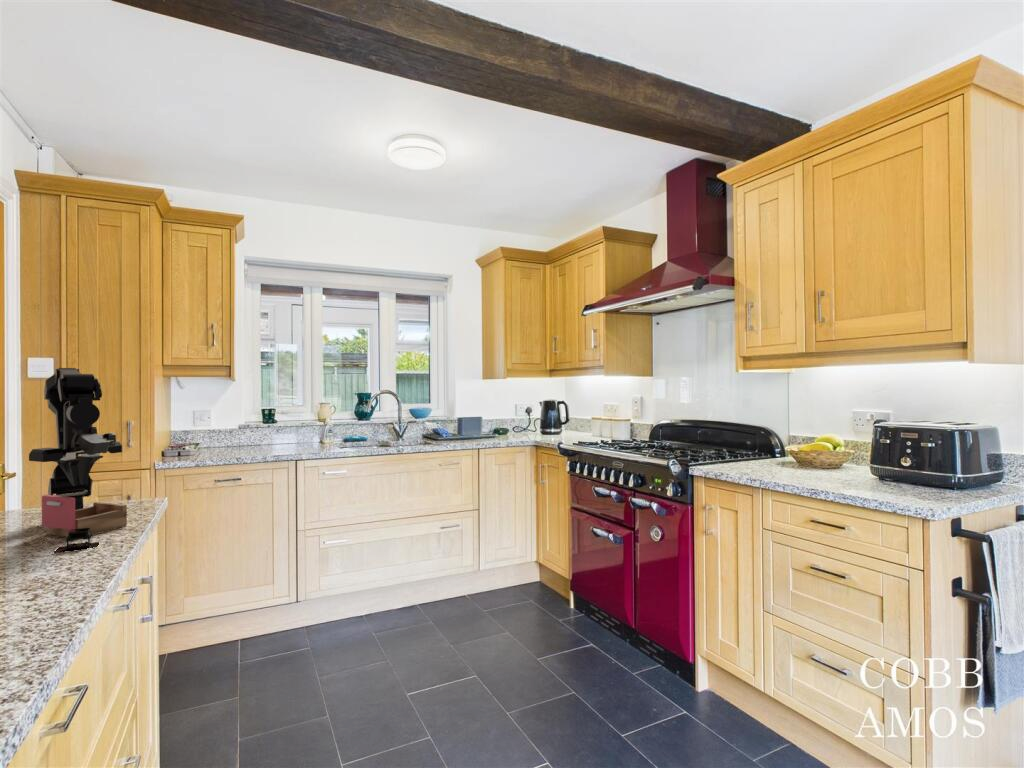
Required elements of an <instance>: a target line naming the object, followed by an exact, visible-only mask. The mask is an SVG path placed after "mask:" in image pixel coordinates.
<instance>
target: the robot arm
mask: <svg viewBox="0 0 1024 768" xmlns="http://www.w3.org/2000/svg"><path fill="white" fill-rule="evenodd" d="M44 382H45V383H44V389H43V390H44V391H43V398H44V400H46V401H47V408H48V409H49V410H50V411H51V412H52V413H53V414H54V416H55V422H56V423H55V425H56V428H55V429H56V438H57V439H56V440H57V441H56V443H57V447H42V448H41V447H40V448H32V449H31V450H30V452H29V453H28V461H29V462H39V463H40V462H41V463H47V462H49V463H50V462H53V463H55V462H56V463H57V465H56V466H55V468H54V470H53V472H52V475H51V477H50V478H49V482H48V489H47V495H55V496H64V497H73V498H75V510H79V509H83V508H85V507H84V498H85V497H90V496H92V489H93V488H92V487H93V479H92V478H91V476H90V475H91V474H90V472H91V471H92V468H93V466H94V464H95V463H96V462H97V461H99V459H103V457H104V455H100V454H107V453H109V454H119V453H122V452H123V445H122V444H121V442H120V441H117V435H116V434H115V433H114V432H105V433H104V434H98V429H97V426H93V425H94V424H95V423H97V422H98V420H99V418H100V415H101V412H100V409H99V407H98V406H97V405H96V404H94V403H93V401H101V398H102V397H103V391H102V388H101V387H102V386H101V383H100V382H99V378H95V375H94V373H81V372H80V369H79V368H76V367H58V368H55V370H54V374H52V375H51V376H50V377H48V378H46V380H45V381H44Z"/></svg>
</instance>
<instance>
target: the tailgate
mask: <svg viewBox="0 0 1024 768" xmlns="http://www.w3.org/2000/svg"><path fill="white" fill-rule="evenodd" d="M55 495H56V494H53V495H48V494H44V495H41V527H46V528H47V527H54V528H61V529H68V530H71V529H75V498H73V497H64V496H55Z"/></svg>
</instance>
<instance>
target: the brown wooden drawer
mask: <svg viewBox="0 0 1024 768" xmlns="http://www.w3.org/2000/svg"><path fill="white" fill-rule="evenodd" d="M92 505H93V506H88V507H84V508H83V509H79V510H75V529H82V528H90V532H91V531H92V534H94V535H96V534H95V533H98V534H100V533H99V532H101V533H103V532H102V531H105V532H108V531H107V530H109V531H111V530H110V529H113V530H115V529H114V528H117V529H119V528H118V527H120V528H123V527H122V526H124V527H127V526H126V525H128V522H127V521H128V514H127V513H128V511H127V510H128V509H127V508H128V507H127V505H126V504H119V503H111V502H102V501H95V502H93V504H92ZM46 529H47V531H46V533H48V534H47V535H50V534H54V535H53V536H57V535H60V536H59V537H64V536H68V533H69V531H70V530H68V529H61V528H54V527H46ZM71 530H73V529H71Z"/></svg>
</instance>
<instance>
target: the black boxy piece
mask: <svg viewBox="0 0 1024 768" xmlns="http://www.w3.org/2000/svg"><path fill="white" fill-rule="evenodd" d="M93 536H94V535H93V534H92V531H91V532H90V528H82V529H73V530H70V531H69V533H68V536H67V537H66V539H65V542H66V545H64V546H63V545H62V546H58V547H59V548H58V549H57V550H56V551H54V550H53V551H54V553H55V554H61V552H63V553H66V552H65V551H71V552H75V551H74V550H80V551H82V550H81V549H87V548H93V547H97V546H98V545H99V542H100V541H98V542H97V541H95V542H92V539H93V538H92V537H93ZM77 540H83V541H84V540H87V541H85V542H77V543H76V542H74V541H77ZM72 542H73V543H72Z"/></svg>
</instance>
